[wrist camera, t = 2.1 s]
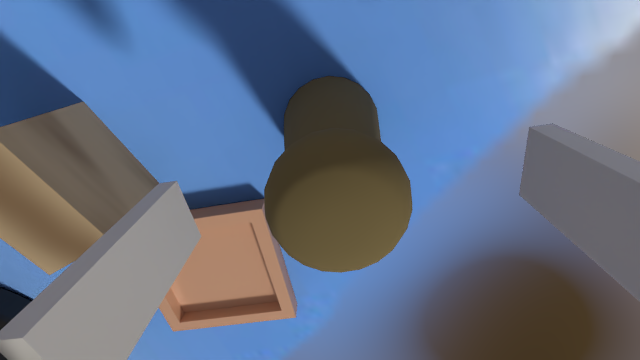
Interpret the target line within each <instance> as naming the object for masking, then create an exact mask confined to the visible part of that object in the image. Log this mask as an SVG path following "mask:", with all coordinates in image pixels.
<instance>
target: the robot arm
mask: <svg viewBox="0 0 640 360" xmlns="http://www.w3.org/2000/svg"><path fill="white" fill-rule="evenodd" d="M519 195H520V196H521V197H522V198H523V199H525V200H526V201H527V202H528V203H529V204H530V205H531V206H532V207H534V208H535V209H536V210H537V211H538V212H539V213H540V214H541V215H543V216H544V217H545V218H546V219H547V220H548V221H549V222H551V223H552V224H553V225H554V226H555V227H556V228H557V229H558V230H559V231H561V232H562V233H563V234H564V235H565V236H566V237H567V238H569V239H570V240H571V241H572V242H573V243H574V244H575V245H576V246H577V247H579V248H580V249H581V250H582V251H583V252H584V253H586V254H587V255H588V256H589V257H590V258H591V259H593V261H594V262H596V263H597V264H598V265H599V266H600V267H601V268H602V269H604V270H605V271H606V272H607V273H608V274H609V275H610V276H611V277H612V278H614V279H615V280H616V281H617V282H618V283H619V284H620V285H621V286H623V287H624V288H625V289H626V290H627V291H628V292H629V293H631V294H632V295H633V296H634V297H635V298H636V299H637V300H638V301H640V161H637V160H635V159H633V158H631V157H628V156H626V155H624V154H621V153H619V152H617V151H614V150H612V149H610V148H607V147H605V146H603V145H601V144H598V143H596V142H594V141H592V140H589V139H587V138H585V137H582V136H580V135H578V134H576V133H573V132H571V131H569V130H566V129H564V128H562V127H559V126H557V125H555V124H546V125H540V126H533V127H529V132H528V138H527V146H526V152H525V159H524V165H523V172H522V179H521V185H520V192H519ZM200 238H201V234H200V232H199V230H198V227H197V225H196V223H195V221H194V218H193V216H192V214H191V212H190V210H189V207H188V205H187V203H186V201H185V198H184V196H183V194H182V192H181V189H180V187H179V185H178V183H177V181H173V182H166V183H160V184H158V185H157V186H156V187H154V188H153V189H152V190H151V191H150V192H149V193H148V194H147V195H146V196H145V197H144V198H143V199H142V200H140V201H139V202H138V203H137V204H136V205H135V206H134V207H133V208H132V209H131V210H130V211H129V212H128V213H126V214H125V215H124V216H123V217H122V218H121V219H120V220H119V221H118V222H117V223H116V224H115V225H113V226H112V227H111V228H110V229H109V230H108V231H107V232H106V233H105V234H104V235H103V236H102V237H101V238H99V239H98V240H97V241H96V242H95V243H94V244H93V245H92V246H91V247H90V248H89V249H88V250H86V251H85V252H84V253H83V254H82V255H81V256H80V257H79V258H78V259H77V260H76V261H75V262H74V263H72V264H71V265H70V266H69V267H68V268H67V269H66V270H65V271H64V272H63V273H62V274H61V275H59V276H58V277H57V278H56V279H55V280H54V281H53V282H52V283H51V284H50V285H49V286H48V287H47V288H45V289H44V290H43V291H42V292H41V293H40V294H39V295H38V296H37V297H36V298H35V299H34V300H33V301H29V300H28V299H26V298H24V297H21V296H19V295H17V294H15V293H12V292H10V291H7V290H4V289H1V288H0V360H127V358H128V357H129V355H130V353H131V352H132V350H133V349H134V347H135V345H136V344H137V342H138V340H139V339H140V337H141V335H142V334H143V332H144V330H145V329H146V327H147V325H148V324H149V322H150V320H151V319H152V317H153V316H154V314H155V312H156V311H157V309H158V307H159V306H160V304H161V302H162V301H163V299H164V297H165V296H166V294H167V292H168V291H169V289H170V287H171V286H172V284H173V282H174V281H175V279H176V278H177V276H178V274H179V273H180V271H181V269H182V268H183V266H184V264H185V263H186V261H187V259H188V258H189V256H190V254H191V253H192V251H193V249H194V248H195V246H196V245H197V243H198V241H199V240H200Z"/></svg>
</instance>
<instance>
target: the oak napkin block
mask: <svg viewBox="0 0 640 360" xmlns="http://www.w3.org/2000/svg"><path fill="white" fill-rule="evenodd" d="M158 184H159V182H158V181H157V180H156V179H155V178H154V177H153V176H152V175H151V174H150V173H149V172H148V171H147V170H146V168H145V167H144V166H143V165H142V164H141V163H140V162H139V161H138V160H137V159H136V158H135V157H134V155H133V154H132V153H131V152H130V151H129V150H128V149H127V148H126V147H125V146H124V145H123V144H122V143H121V141H120V140H119V139H118V138H117V137H116V136H115V135H114V134H113V133H112V132H111V131H110V130H109V129H108V127H107V126H106V125H105V124H104V123H103V122H102V121H101V120H100V119H99V118H98V117H97V116H96V114H95V113H94V112H93V111H92V110H91V109H90V108H89V107H88V106H87V105H86V104H85V103H84V102H80V103H77V104H74V105H70V106H67V107H64V108H61V109H57V110H54V111H51V112H48V113H45V114H41V115H38V116H35V117H32V118H28V119H25V120H22V121H19V122H16V123H12V124H9V125H6V126H3V127H0V238H1V239H2V240H4V241H5V242H6V243H8V244H9V245H10V246H12V247H13V248H14V249H16V250H17V251H18V252H19V253H21V254H22V255H23V256H25V257H26V258H27V259H29V260H30V261H31V262H33V263H34V264H35V265H37V266H38V267H39V268H41V269H42V270H43V271H45V272H46V273H47V274H49V275H51V274H52V273H54V272H56V271H58V270H59V269H61V268H63V267H65V266H67V265H68V264H70V263H72V262H74V261H76V260H77V259H78V258H79V257H80V256H81V255H82V254H83V253H84V252H85V251H86V250H88V249H89V248H90V247H91V246H92V245H93V244H94V243H95V242H96V241H97V240H98V239H99V238H101V237H102V236H103V235H104V234H105V233H106V232H107V231H108V230H109V229H110V228H111V227H112V226H113V225H115V224H116V223H117V222H118V221H119V220H120V219H121V218H122V217H123V216H124V215H125V214H126V213H128V212H129V211H130V210H131V209H132V208H133V207H134V206H135V205H136V204H137V203H138V202H139V201H140V200H142V199H143V198H144V197H145V196H146V195H147V194H148V193H149V192H150V191H151V190H152V189H153V188H154V187H156V186H157V185H158Z"/></svg>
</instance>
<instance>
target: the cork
mask: <svg viewBox="0 0 640 360" xmlns="http://www.w3.org/2000/svg"><path fill="white" fill-rule="evenodd" d="M284 146H285V151H284V152H283V154H282V155H281V156H280V157H279V158H278V159H277V160H276V162H275V163H274V166H273V168H272V171H271V173H270V176H269V179H268V181H267V184H266V186H265V189H264V210H265V218H266V220H267V223H268V226H269V228H270V231H271V234H272V236H273V237H274V238H275V239H276V240H277V242H278V243H279V244H280V245H281V247H282V248H283V249H284V250H285V251H286V252H287V254H288V255H289V256H291V257H292V258H294V259H295V260H297V261H299V262H300V263H302V264H303V265H305V266H308V267H311V268H314V269H317V270H320V271H328V272H347V271H353V270H359V269H362V268H365V267H367V266H369V265H372V264H374V263H376V262H378V261H380V260H381V259H382V258H383V257H385V256H386V255H387V254H388V253H390V252H391V251H392V250H393V249H394V247H395V246H396V245H397V243H398V242H399V240H400V239H401V237H402V236H403V234H404V233H405V231H406V230H407V227H408V224H409V220H410V216H411V213H412V196H411V187H410V180H409V178H408V176H407V174H406V172H405V170H404V168H403V167H402V165H401V163H400V161H399V159H398V158H397V156H396V155H395V154H394V153H393V152H392V151H391V150H390V149H389V148H388V147H386V146H385V145H384V144H383V143H382V142H381V138H380V130H379V122H378V115H377V108H376V106H375V104H374V102H373V100H372V98H371V96H370V94H368V93H367V92H366V91H365V90H364V89H363V88H362V87H361V86H360V85H359V84H357V83H355V82H353V81H351V80H349V79H346V78H344V77H334V76H326V77H322V78H318V79H313V80H311V81H310V82H308V83H307V84H305V85H303V86H302V87H300V88H299V89H298V90H297V92H296V93H295V94H294V95H293V96H292V98H291V99H290V100H289V103H288V106H287V108H286V111H285V114H284Z"/></svg>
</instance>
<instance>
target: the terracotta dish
mask: <svg viewBox="0 0 640 360" xmlns="http://www.w3.org/2000/svg"><path fill="white" fill-rule="evenodd" d="M190 212H191V214H192V216H193V218H194V221H195V223H196V225H197V227H198V230H199V232H200V234H201V238H200V240H199V241H198V243H197V245H196V246H195V248H194V249H193V251H192V253H191V254H190V256H189V258H188V259H187V261H186V263H185V264H184V266H183V268H182V269H181V271H180V273H179V274H178V276H177V278H176V279H175V281H174V282H173V284H172V286H171V287H170V289H169V291H168V292H167V294H166V296H165V297H164V299H163V301H162V302H161V304H160V306H159V309H160V310H161V312H162V314H163V315H164V317H165V319H166V320H167V322H168V323H169V325H170V327H171V328H172V330H173V331H181V330H190V329H199V328H207V327H216V326H225V325H234V324H243V323H251V322H260V321H269V320H278V319H286V318H295V317H296V312H297V301H296V298H295V295H294V291H293V288H292V285H291V281H290V278H289V275H288V271H287V268H286V265H285V262H284V258H283V255H282V252H281V248H280V245H279V243H278V242H277V240H276V239H275V238H274V237H273V236H272V234H271V231H270V228H269V226H268V223H267V220H266V218H265V210H264V199H258V200H251V201H245V202H238V203H231V204H225V205H218V206H211V207H205V208H198V209H192V210H190Z"/></svg>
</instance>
